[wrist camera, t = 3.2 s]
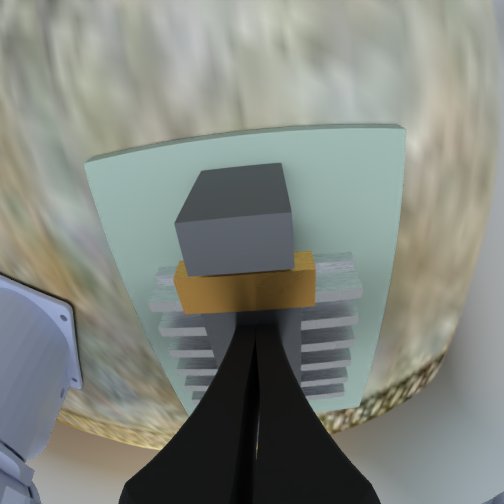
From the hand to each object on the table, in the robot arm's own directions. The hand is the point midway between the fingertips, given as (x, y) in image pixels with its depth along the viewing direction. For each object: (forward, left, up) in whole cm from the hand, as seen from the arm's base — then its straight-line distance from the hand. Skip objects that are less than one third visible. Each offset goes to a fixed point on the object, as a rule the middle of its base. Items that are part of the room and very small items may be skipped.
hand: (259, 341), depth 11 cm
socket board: (-2, -1, -4) cm, 5 cm away
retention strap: (-3, -1, -1) cm, 3 cm away
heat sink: (-2, -1, -4) cm, 5 cm away
